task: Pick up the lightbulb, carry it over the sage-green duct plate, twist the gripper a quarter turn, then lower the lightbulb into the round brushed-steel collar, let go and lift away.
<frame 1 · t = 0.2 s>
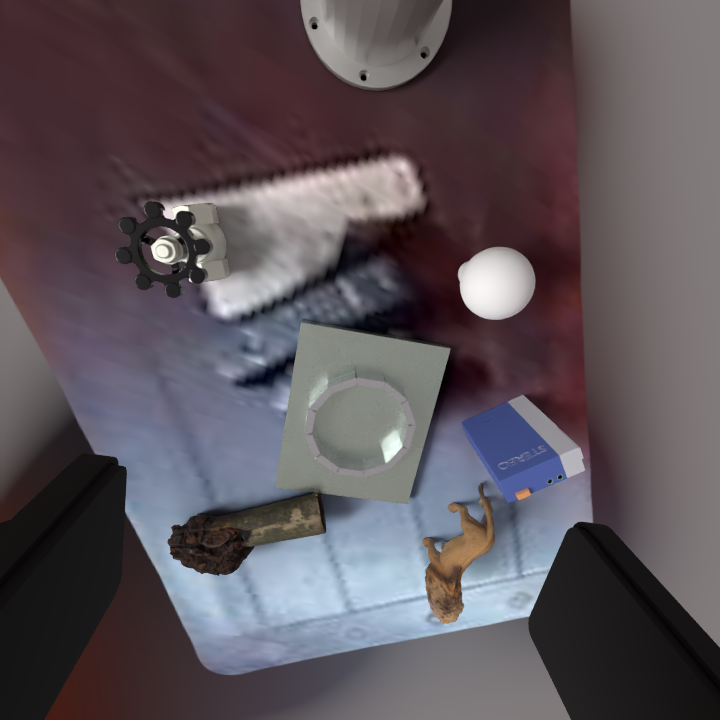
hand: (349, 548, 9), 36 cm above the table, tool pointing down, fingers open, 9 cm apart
brown camo elongated piece: (253, 518, 52), on the table
walkman: (494, 416, 49), on the table
duct collar: (358, 416, 48), on the table
lightbulb: (467, 272, 43), on the table
lion figurine: (451, 528, 54), on the table
valve: (209, 242, 41), on the table
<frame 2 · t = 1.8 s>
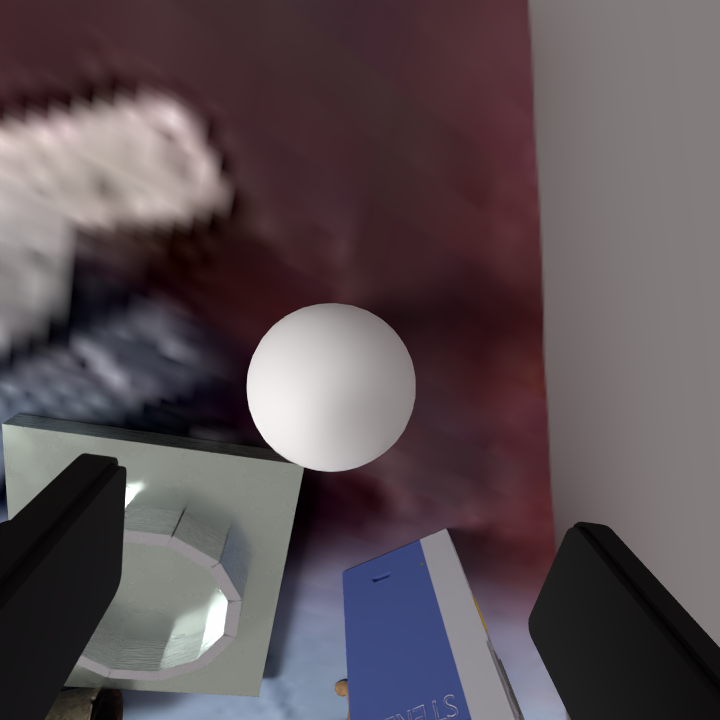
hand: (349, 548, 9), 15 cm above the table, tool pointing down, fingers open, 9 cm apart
brown camo elongated piece: (6, 710, 31), on the table, touching duct collar
walkman: (399, 561, 29), on the table
duct collar: (158, 567, 27), on the table
lightbulb: (329, 327, 23), on the table
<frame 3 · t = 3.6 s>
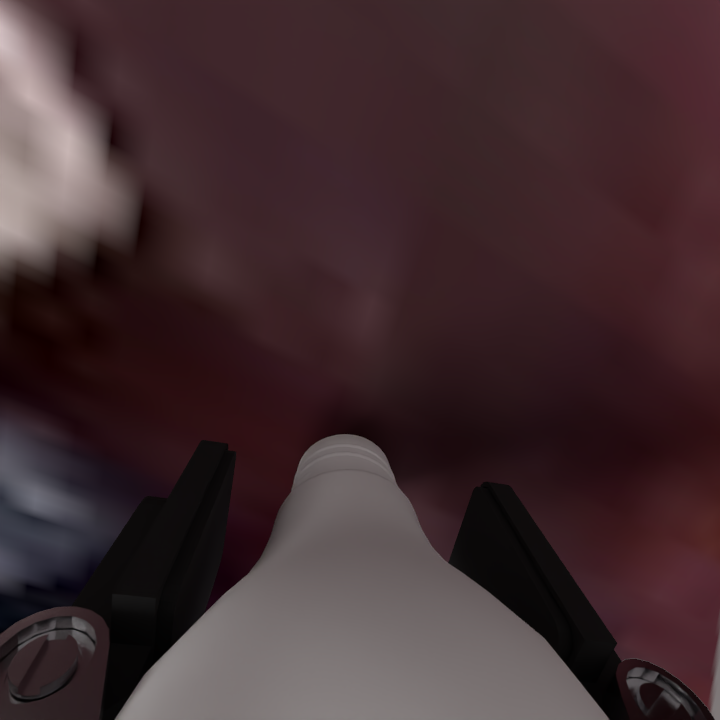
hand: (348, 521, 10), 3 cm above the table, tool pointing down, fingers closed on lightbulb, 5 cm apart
lightbulb: (343, 455, 12), on the table, touching gripper
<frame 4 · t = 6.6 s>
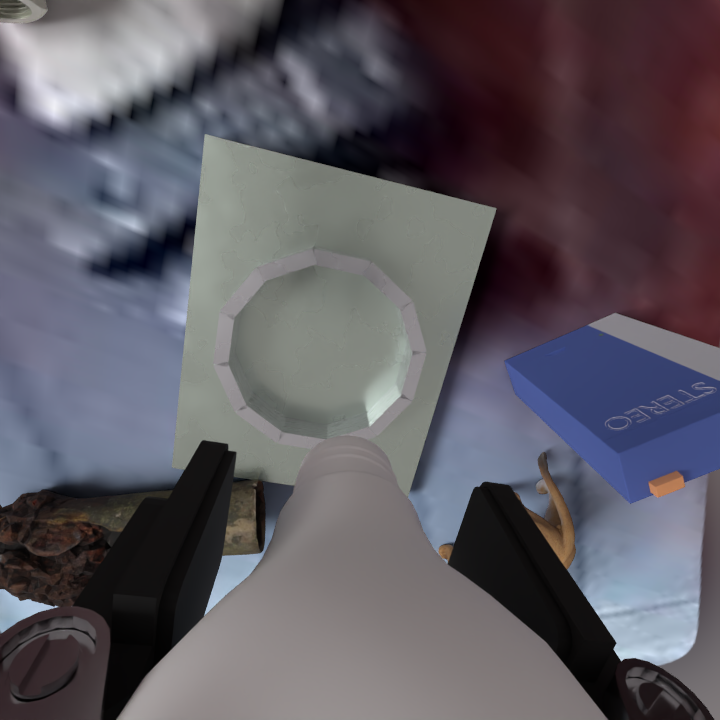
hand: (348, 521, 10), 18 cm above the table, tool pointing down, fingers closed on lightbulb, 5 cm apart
brown camo elongated piece: (142, 509, 30), on the table, touching duct collar
walkman: (561, 353, 28), on the table
duct collar: (322, 342, 27), on the table
lightbulb: (345, 456, 12), point 15 cm above the table, touching gripper
lion figurine: (486, 528, 33), on the table
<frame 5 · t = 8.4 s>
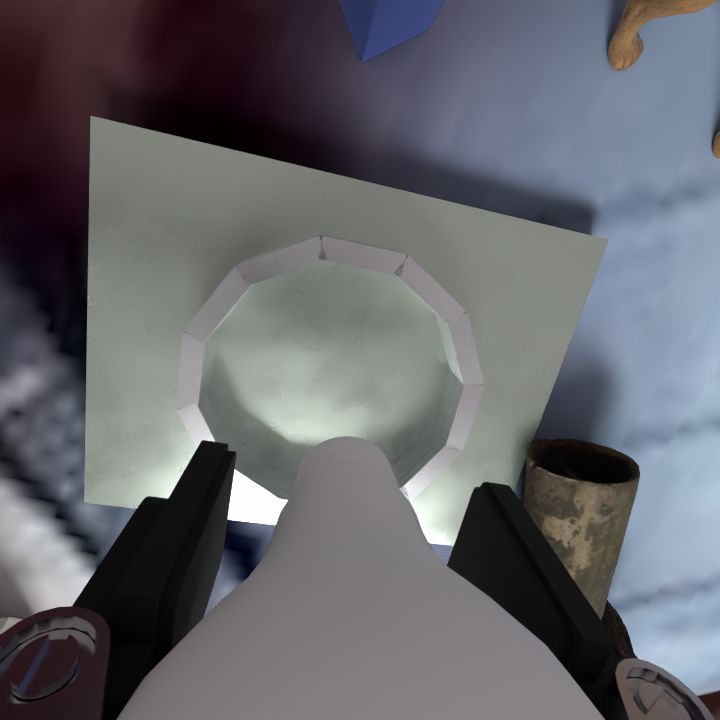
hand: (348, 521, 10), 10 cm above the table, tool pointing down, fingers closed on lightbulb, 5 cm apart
brown camo elongated piece: (544, 567, 25), on the table, touching duct collar
duct collar: (332, 368, 19), on the table
lightbulb: (344, 457, 12), point 8 cm above the table, touching gripper
lion figurine: (702, 55, 17), on the table
when the fingers open (4 cm above the table, at t = 10.0 s): lightbulb stays where it is, resting on duct collar.
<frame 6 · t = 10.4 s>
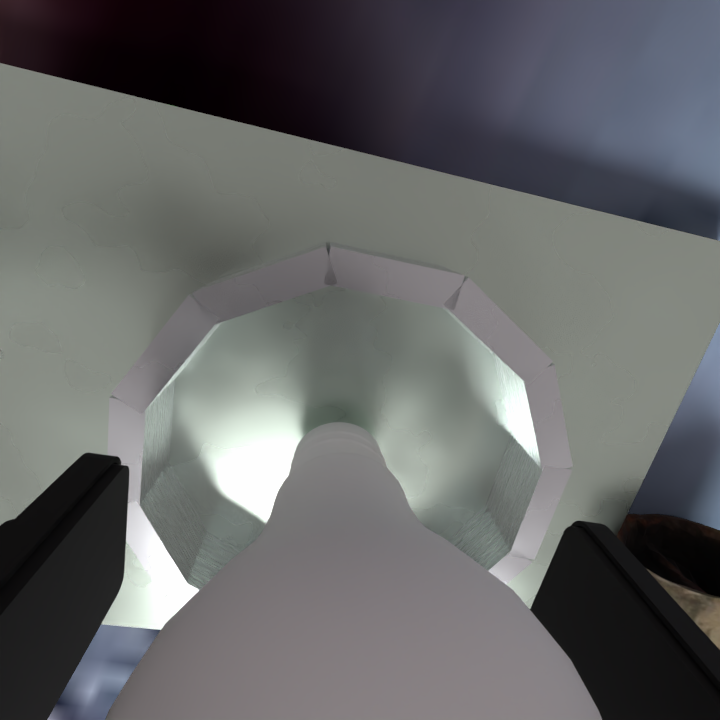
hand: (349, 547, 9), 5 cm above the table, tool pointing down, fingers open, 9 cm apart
brown camo elongated piece: (608, 669, 19), on the table, touching duct collar
duct collar: (342, 428, 14), on the table
lightbulb: (336, 443, 13), point 1 cm above the table, touching duct collar
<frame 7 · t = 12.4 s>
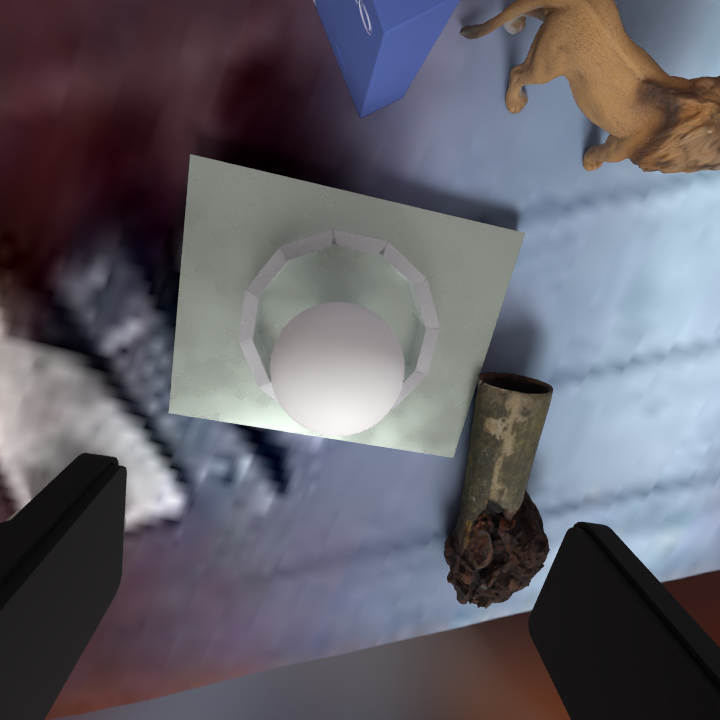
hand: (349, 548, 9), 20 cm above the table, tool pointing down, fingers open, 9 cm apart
brown camo elongated piece: (488, 476, 33), on the table, touching duct collar
walkman: (352, 37, 23), on the table
duct collar: (339, 322, 28), on the table
lightbulb: (336, 325, 27), point 1 cm above the table, touching duct collar
lion figurine: (571, 102, 25), on the table
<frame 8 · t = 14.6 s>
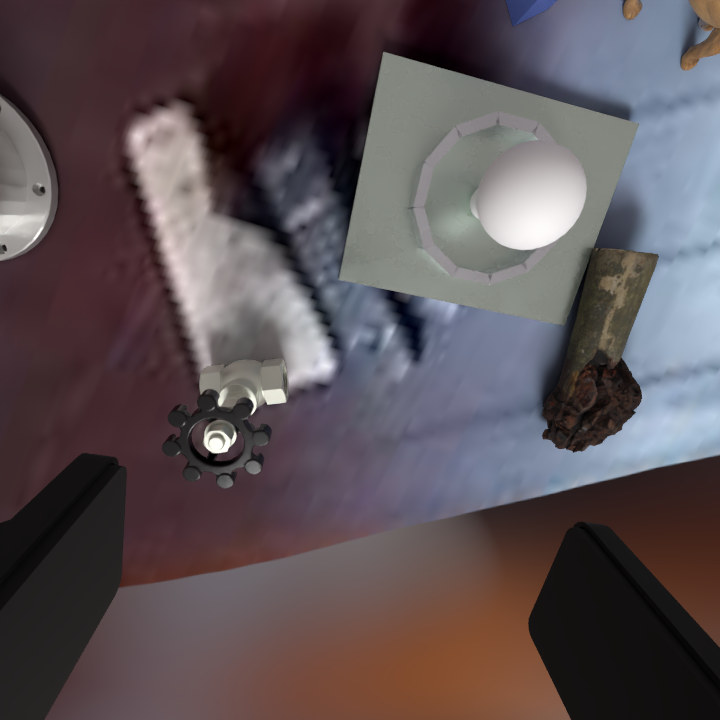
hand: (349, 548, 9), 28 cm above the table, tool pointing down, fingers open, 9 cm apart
brown camo elongated piece: (583, 347, 39), on the table
duct collar: (479, 204, 34), on the table
lightbulb: (481, 203, 33), point 1 cm above the table, touching duct collar
lion figurine: (674, 11, 31), on the table
valve: (251, 374, 37), on the table
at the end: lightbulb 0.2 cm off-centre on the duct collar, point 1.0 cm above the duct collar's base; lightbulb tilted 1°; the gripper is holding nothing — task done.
